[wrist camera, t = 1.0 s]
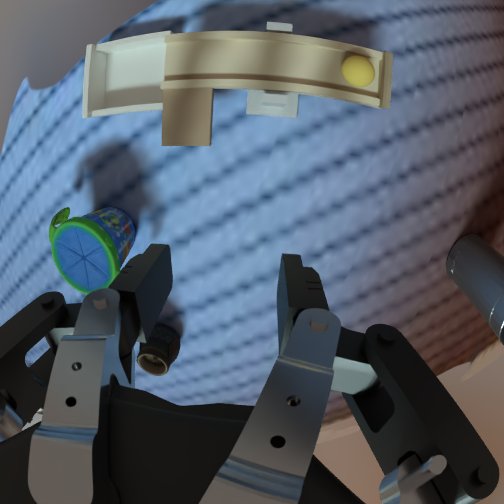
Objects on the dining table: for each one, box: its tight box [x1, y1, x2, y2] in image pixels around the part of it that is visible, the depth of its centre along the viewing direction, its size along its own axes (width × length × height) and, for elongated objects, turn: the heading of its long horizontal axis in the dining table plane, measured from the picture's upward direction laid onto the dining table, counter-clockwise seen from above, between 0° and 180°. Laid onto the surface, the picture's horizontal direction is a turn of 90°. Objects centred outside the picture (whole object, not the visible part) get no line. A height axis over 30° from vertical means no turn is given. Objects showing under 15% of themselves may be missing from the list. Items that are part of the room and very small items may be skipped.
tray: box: [82, 31, 174, 118], centre depth 27 cm, size 11×10×5 cm
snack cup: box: [49, 207, 135, 294], centre depth 34 cm, size 16×10×10 cm
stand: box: [246, 22, 299, 118], centre depth 25 cm, size 6×11×8 cm, turn 176°
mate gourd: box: [136, 325, 180, 376], centre depth 44 cm, size 7×8×10 cm
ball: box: [342, 56, 375, 87], centre depth 20 cm, size 3×3×3 cm
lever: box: [160, 31, 393, 146], centre depth 23 cm, size 22×12×3 cm, turn 86°
